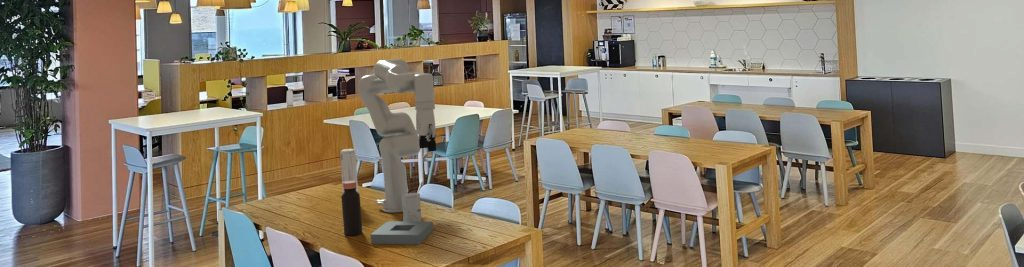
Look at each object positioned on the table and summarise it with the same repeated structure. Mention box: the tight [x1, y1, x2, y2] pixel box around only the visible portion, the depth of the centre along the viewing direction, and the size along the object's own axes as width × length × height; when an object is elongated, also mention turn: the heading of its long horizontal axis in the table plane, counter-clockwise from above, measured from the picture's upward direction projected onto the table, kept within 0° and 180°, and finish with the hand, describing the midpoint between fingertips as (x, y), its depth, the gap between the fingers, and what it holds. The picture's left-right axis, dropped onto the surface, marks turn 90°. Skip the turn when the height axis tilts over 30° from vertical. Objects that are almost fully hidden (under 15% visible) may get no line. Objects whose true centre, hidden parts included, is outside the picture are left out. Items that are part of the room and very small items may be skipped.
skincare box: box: [402, 192, 422, 221], centre depth 302 cm, size 6×4×12 cm
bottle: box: [340, 181, 363, 237], centre depth 291 cm, size 7×7×20 cm
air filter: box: [339, 148, 359, 194], centre depth 336 cm, size 6×6×25 cm
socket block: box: [370, 220, 434, 245], centre depth 284 cm, size 18×18×4 cm
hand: (427, 149), depth 299 cm, fingers open, 9 cm apart
